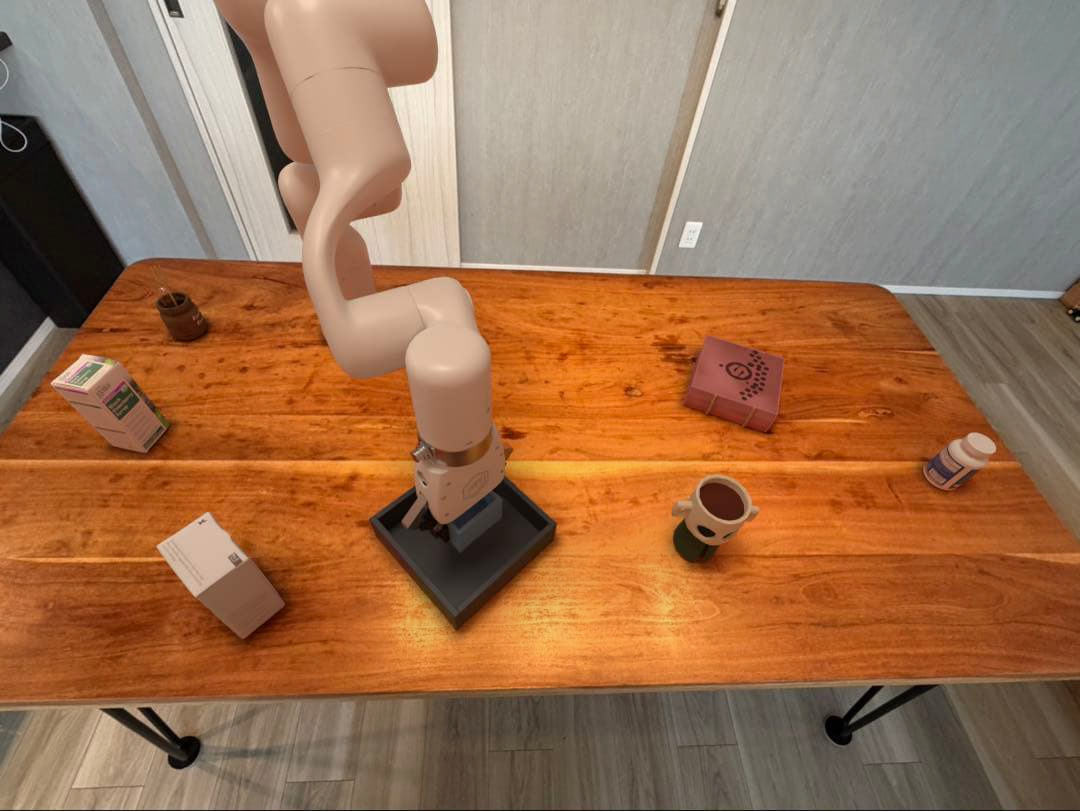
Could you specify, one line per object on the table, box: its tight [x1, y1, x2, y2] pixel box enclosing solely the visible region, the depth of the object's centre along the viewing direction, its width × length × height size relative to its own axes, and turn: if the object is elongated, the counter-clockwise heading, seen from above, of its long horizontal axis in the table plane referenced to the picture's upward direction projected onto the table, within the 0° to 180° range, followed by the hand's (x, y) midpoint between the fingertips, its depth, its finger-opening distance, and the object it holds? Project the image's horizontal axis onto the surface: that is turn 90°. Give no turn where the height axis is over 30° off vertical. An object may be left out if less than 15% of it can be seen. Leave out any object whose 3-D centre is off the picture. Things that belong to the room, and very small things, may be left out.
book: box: [683, 334, 786, 433], centre depth 92 cm, size 14×15×5 cm
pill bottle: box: [922, 432, 997, 492], centre depth 81 cm, size 5×5×10 cm
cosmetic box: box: [156, 511, 286, 640], centre depth 59 cm, size 8×6×15 cm
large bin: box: [368, 475, 558, 631], centre depth 70 cm, size 18×18×5 cm
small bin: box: [446, 490, 502, 553], centre depth 65 cm, size 7×7×5 cm
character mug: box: [671, 473, 761, 564], centre depth 69 cm, size 11×7×13 cm, turn 88°
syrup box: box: [50, 353, 171, 454], centre depth 74 cm, size 6×6×14 cm
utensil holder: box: [149, 264, 208, 341], centre depth 90 cm, size 6×6×12 cm
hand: (463, 514), depth 67 cm, fingers closed on small bin, 7 cm apart
